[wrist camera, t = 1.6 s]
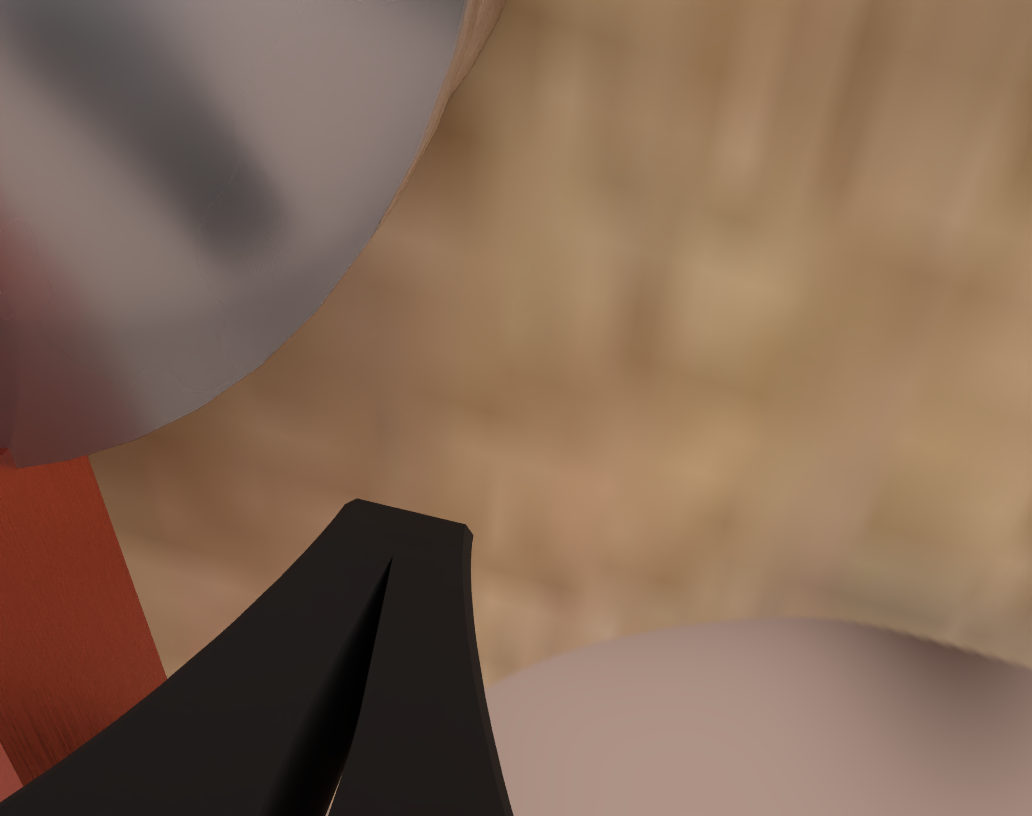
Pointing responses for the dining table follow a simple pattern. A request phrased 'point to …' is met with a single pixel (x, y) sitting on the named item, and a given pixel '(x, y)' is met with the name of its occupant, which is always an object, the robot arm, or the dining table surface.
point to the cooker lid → (166, 274)
